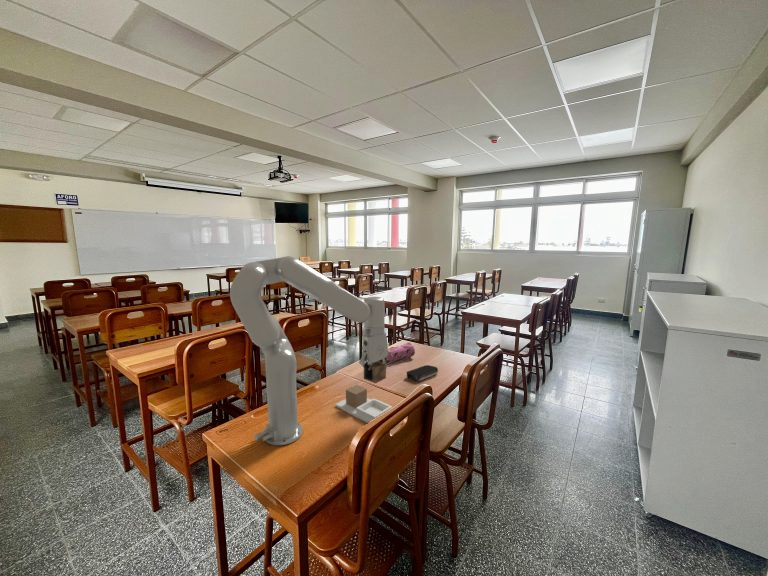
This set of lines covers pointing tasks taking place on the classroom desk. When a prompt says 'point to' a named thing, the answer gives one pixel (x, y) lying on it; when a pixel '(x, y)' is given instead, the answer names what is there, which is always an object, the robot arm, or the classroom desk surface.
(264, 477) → the classroom desk surface
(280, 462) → the classroom desk surface
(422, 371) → the black sponge
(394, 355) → the pencil case
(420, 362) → the classroom desk surface
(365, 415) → the assembly board
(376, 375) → the walnut block
